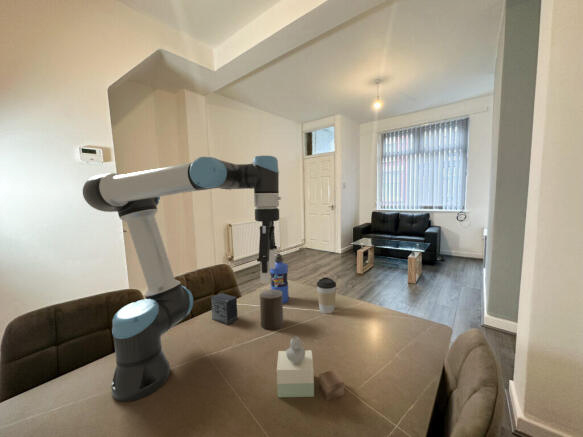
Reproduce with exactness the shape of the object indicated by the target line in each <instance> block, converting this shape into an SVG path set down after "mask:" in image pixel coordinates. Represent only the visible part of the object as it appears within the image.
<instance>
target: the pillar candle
mask: <svg viewBox="0 0 583 437" xmlns="http://www.w3.org/2000/svg"><path fill="white" fill-rule="evenodd" d="M259 301H260V303H259V306H260V315H259V316H260V326H261V328H263V329H264V330H269V331H274V330H278V329H280V328H282V327H283V326H284V304H283V296H282V292H281V291H279V290H271V289H265V290H264V291H261V292H260V293H259Z"/></svg>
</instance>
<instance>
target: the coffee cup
mask: <svg viewBox="0 0 583 437" xmlns="http://www.w3.org/2000/svg"><path fill="white" fill-rule="evenodd" d="M316 287H317V300H318V309H319V312H320V311H321V312H320V313H322V314H325V313H330V314H333V313H334V312H335V303H336V292H337V291H336V287H337V283H336V281H335V280H334V279H332V278H329V277H328V276H327V277H322V278H320V279H319V280H318V281H317V282H316ZM333 311H334V312H333ZM332 312H333V313H332Z"/></svg>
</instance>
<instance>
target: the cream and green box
mask: <svg viewBox="0 0 583 437" xmlns="http://www.w3.org/2000/svg"><path fill="white" fill-rule="evenodd" d="M312 351H313V350H305V357H304V359H303V361H302V362H300V363H297V364H294V363H292V362H291V361H289V360H288V358H287V356H286V350H278V352H277V353H278V354H277V361H276V362H277V364H276V387H277V398H304V397H306V398H311V397H312V398H314V397H315V379H314V377H315V374H314V372H315V370H314V362H313V360H314V359H313V353H312Z"/></svg>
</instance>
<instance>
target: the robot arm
mask: <svg viewBox="0 0 583 437" xmlns="http://www.w3.org/2000/svg"><path fill="white" fill-rule="evenodd" d="M278 162H279V161H278V158H277V157H275V156H273V155H256V156H253V159H252V163H244V164H243V163H241V164H239V163H238V164H237V163H236V164H235V163H232V162H228V161H225V160H222V159H218V158H216V157H214V156H213V157H212V156H200V157H198V158H195V160H194V161H192V162H188V163H186V162H185V163H182V164H176V165H171V166H165V167H158V168H154V169H149V170H143V171H137V172H130V173H127V174H125V173H124V174H119V173H115V172H110V173H103V174H98V175H94V176H92V177H90V178H89V179H88V180H86V181H85V183H84V185H83V187H82V195H83V196H82V198H83V199H84V201H85V202H86V203H87V204H88V205H89V206H90V207H91V208H93V209H95V210H97V211H100V212H104V213H105V212H108V213H114V212H115V213H116V212H117V214H118V217H119V220H121V221H123V222H125V223H126V225H127V228H128V230H129V234H130V237H131V240H132V243H133V247H134V250H135V253H136V255H137V259H138V261H139V265H140V268H141V271H142V273H143V278H144V280H145V283H146V286H147V290H146V291H145V294H144V298H145V299H143V298H142V299H141V300H137V301H135V302H133V301H132V302H131V303H128V304H126V305H124V306H123V307H121V308H120V309H119V310H118V311H117V312H116V313H115V314H114V315H113V318H112V329H111V333H112V337H113V344H114V352H115V353H114V354H115V362H116V366H115V370H114V374H113V377H112V381H111V385H110V388H111V395H112V397H113V398H114V400H117V401H120V402H131V401H132V402H133V401H136V400H138V399H142V398H144V397H147V396H149V395H150V394H152V393H154V392H155V391H156V390H158V389H160V388H161V387H162V386H163V385H165V382H166V381H167V380H168V379H169V377H170V374H171V368H170V366H171V365H170V361H169V360H168V359H167V357H166V355H165V353H164V350H163V349H162V348H163V347H162V336H164V334H165V333H167V332H168V331H169V330H171V329H172V328H173V327H174V326H176V325H177V324H178V323H180V322H182V321H183V320H184V319H185V318H186V317H187V316H188V315H189V314H190V312H191V311H192V308H193V304H194V297H193V294H192V292H191V291H190V289H188V288H187V287H186V286H184V285H182V283H181V281H180V280H177V279H176V278H175V276H174V273H173V270H172V266H171V263H170V260H169V258H168V254H167V250H166V248H165V244H164V242H163V239H162V236H161V232H160V229H159V226H158V222H157V220H156V217H155V216H156V214H157V213H158V211H159V210H158V205H159V203H160V200H161V197H165V196H166V197H167V196H173V195H178V194H186V193H191V192H198V191H206V190H215V189H220V190H230V191H231V190H242V189H243V190H245V189H249V190H251V189H253V190H254V191H253V193H254V194H253V202H254V203H253V204H254V205H253V206H254V208H255V209H254V220H255V221H256V222H261V225H259V244H258V258H256V261H257V262H259V270H260V271H259V273H260V274H259V275H260V276H259V277H260V284H271V273H270V269H275V258H276V257H275V256H276V251H275V250H277V248H278V246H277V245H276V239H275V225H274V224H275V223H274V222H277V221H279V220H280V209H279V208H278V207H279V206H280V201H281V199H282V197H281V196H279V190H280V189H279V184H280V181H279V174H280V171H279V163H278ZM166 383H167V382H166Z"/></svg>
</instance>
